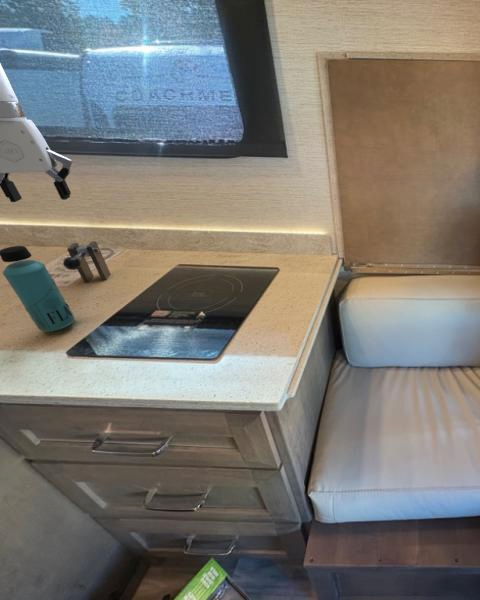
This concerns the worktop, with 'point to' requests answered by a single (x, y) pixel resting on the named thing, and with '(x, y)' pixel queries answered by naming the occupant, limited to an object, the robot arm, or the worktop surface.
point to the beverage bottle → (36, 290)
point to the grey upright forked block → (97, 260)
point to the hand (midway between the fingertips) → (41, 199)
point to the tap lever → (76, 258)
